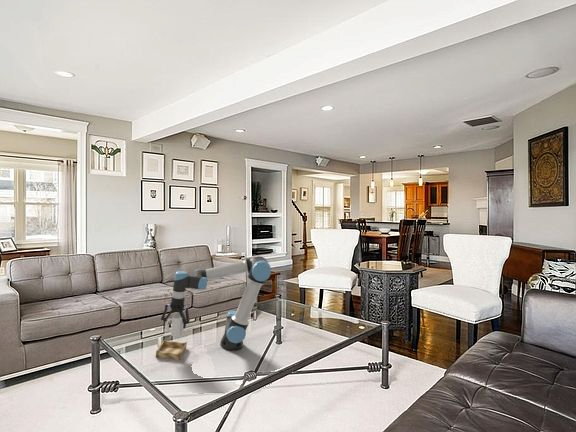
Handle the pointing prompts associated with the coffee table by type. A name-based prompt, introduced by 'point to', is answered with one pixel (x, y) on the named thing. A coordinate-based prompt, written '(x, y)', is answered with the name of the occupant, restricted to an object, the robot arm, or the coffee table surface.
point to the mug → (175, 325)
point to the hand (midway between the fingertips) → (173, 332)
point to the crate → (171, 350)
